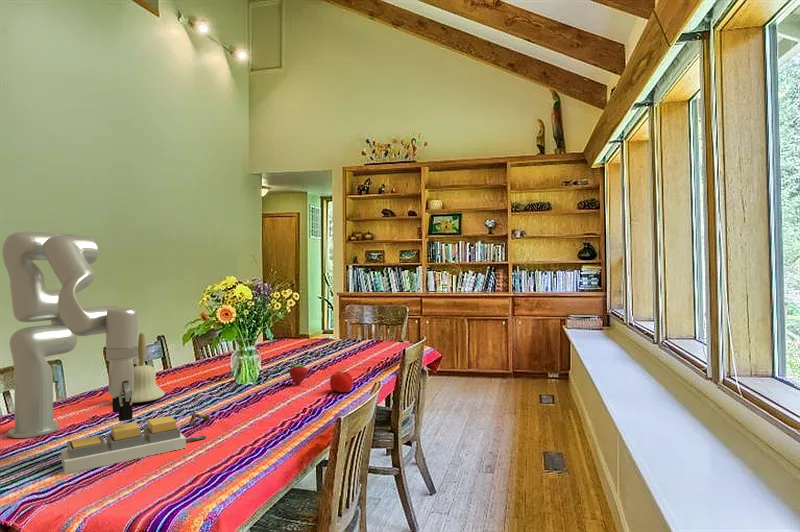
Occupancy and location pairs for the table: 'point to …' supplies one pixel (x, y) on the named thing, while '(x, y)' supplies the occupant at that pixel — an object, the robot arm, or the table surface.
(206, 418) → the wooden post with brackets
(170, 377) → the table surface
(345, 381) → the tomato
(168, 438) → the strip
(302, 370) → the strawberry
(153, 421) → the button right
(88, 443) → the button left
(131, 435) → the button middle
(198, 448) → the table surface
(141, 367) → the handbell
